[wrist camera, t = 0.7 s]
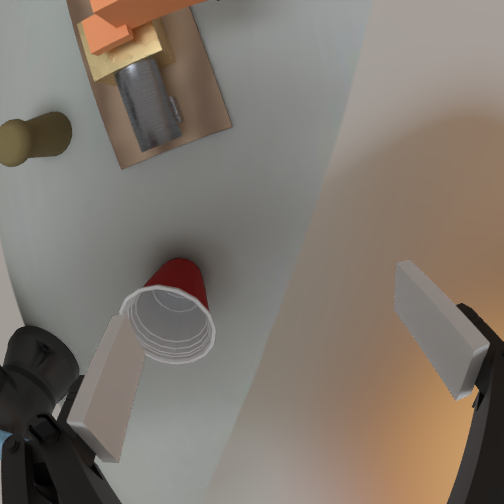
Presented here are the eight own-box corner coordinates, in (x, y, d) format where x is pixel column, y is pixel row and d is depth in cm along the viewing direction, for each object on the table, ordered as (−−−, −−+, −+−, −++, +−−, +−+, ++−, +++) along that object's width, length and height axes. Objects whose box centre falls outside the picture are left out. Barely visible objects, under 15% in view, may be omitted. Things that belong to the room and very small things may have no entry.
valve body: (144, 151, 35) (122, 161, 28) (90, -12, 25) (63, -33, 18) (199, 129, 35) (191, 132, 27) (141, -37, 25) (123, -64, 18)
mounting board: (125, 167, 37) (121, 169, 36) (70, -1, 27) (65, -4, 25) (232, 126, 36) (232, 126, 35) (169, -47, 26) (167, -52, 24)
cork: (33, 117, 33) (-17, 125, 23) (69, 106, 33) (21, 109, 23) (38, 160, 35) (-10, 178, 25) (74, 151, 36) (29, 167, 26)
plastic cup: (127, 260, 42) (97, 308, 31) (195, 227, 41) (183, 270, 30) (166, 319, 46) (152, 377, 36) (232, 293, 45) (233, 350, 34)
